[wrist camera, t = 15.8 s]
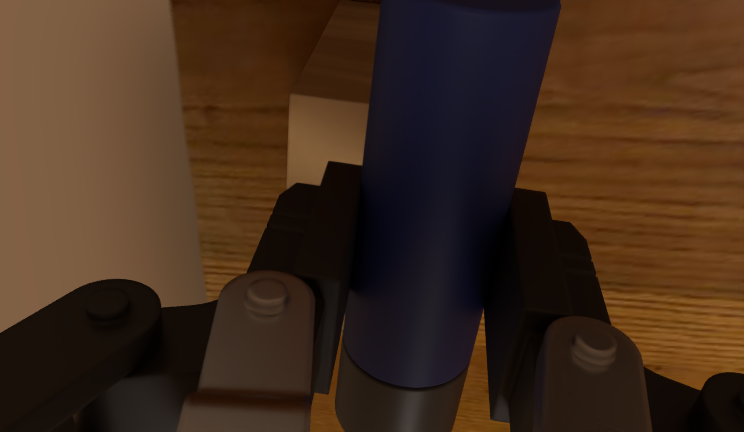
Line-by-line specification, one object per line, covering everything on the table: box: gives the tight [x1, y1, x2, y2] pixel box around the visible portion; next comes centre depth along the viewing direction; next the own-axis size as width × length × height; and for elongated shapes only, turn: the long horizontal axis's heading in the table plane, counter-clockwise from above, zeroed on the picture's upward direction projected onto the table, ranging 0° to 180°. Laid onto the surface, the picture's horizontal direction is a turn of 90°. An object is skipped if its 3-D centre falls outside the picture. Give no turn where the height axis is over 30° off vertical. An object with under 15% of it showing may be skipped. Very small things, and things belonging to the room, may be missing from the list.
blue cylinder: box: [335, 0, 561, 432], centre depth 12 cm, size 9×3×3 cm, turn 174°
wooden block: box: [286, 0, 381, 331], centre depth 30 cm, size 10×4×12 cm, turn 174°
